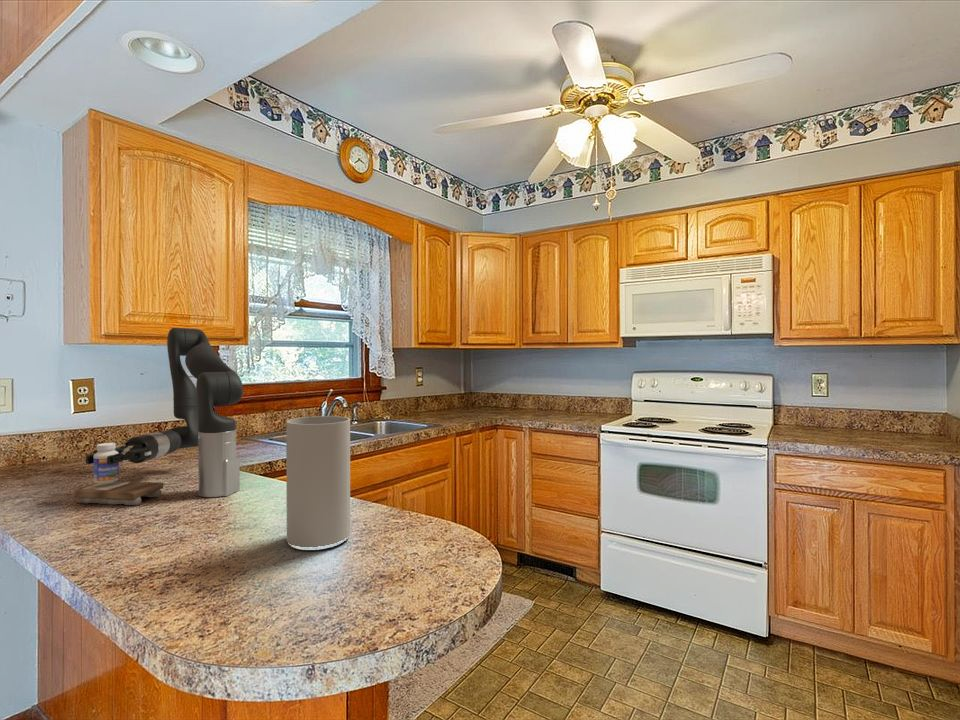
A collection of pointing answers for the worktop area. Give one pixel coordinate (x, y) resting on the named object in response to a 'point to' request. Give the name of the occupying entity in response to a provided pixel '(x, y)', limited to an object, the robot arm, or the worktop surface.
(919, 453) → the worktop surface
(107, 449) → the pill bottle
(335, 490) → the cylinder vase
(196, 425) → the robot arm
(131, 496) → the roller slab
